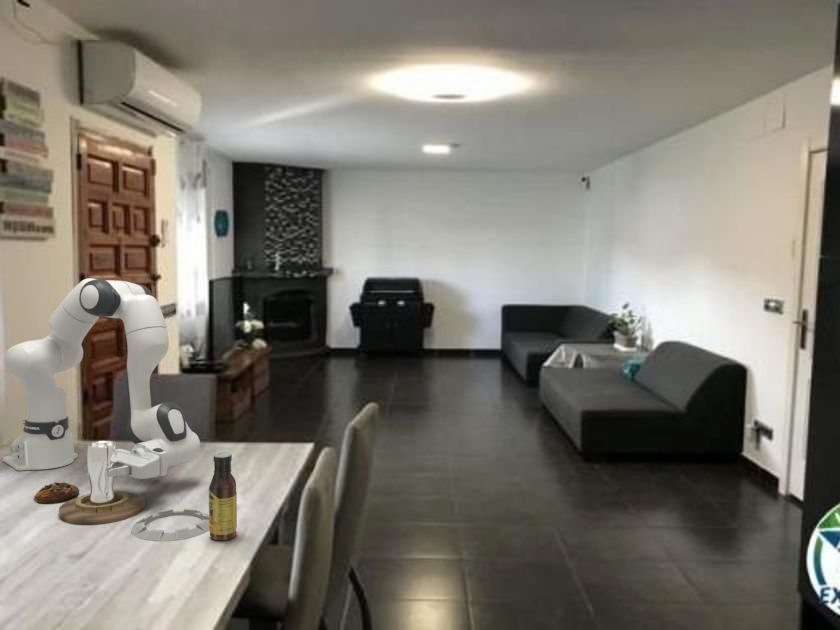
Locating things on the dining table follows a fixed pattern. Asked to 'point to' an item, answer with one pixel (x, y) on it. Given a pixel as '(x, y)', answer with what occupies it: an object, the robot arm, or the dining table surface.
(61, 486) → the bread roll
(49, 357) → the robot arm
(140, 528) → the ring
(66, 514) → the round tray
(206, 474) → the dining table surface
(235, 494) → the sauce bottle
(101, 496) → the beer glass
